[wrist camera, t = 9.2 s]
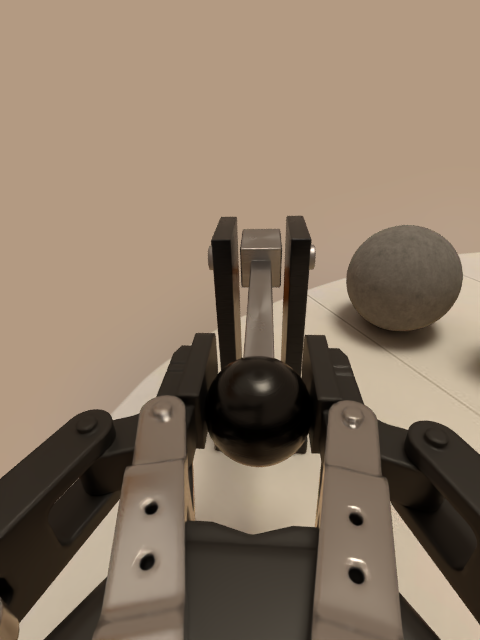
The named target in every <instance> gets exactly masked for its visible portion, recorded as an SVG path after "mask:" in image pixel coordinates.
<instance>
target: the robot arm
mask: <svg viewBox="0 0 480 640" xmlns="http://www.w3.org/2000/svg"><path fill="white" fill-rule="evenodd" d="M217 375H218V362H217V348H216V336H215V333H196V334H195V337H194V340H193V343H192V346H181V347H180V348H179V349H178V350H177V351H176V352H174V354H173V356H172V359H171V361H170V364H169V366H168V369H167V372H166V374H165V376H164V379H163V381H162V384H161V386H160V389H159V391H158V394H157V396H156V398H153V399H151V400H150V401H148V402H147V403H146V404H145V405H144V406H143V407H142V408H141V410H140V413H139V414H137V415H134V416H130V417H126V418H121V419H117V420H112V417H111V415H110V414H109V413H108V412H106V411H104V410H98V409H97V410H88V411H85V412H82V413H80V414H78V415H76V416H75V417H73V418H72V419H70V420H69V421H68V422H67V423H66V424H65V425H63V426H62V427H61V428H60V429H59V430H58V431H56V432H55V433H54V434H53V435H52V436H50V437H49V438H48V439H47V440H46V441H45V442H43V443H42V444H41V445H40V446H39V447H37V448H36V449H35V450H34V451H33V452H31V453H30V454H29V455H28V456H27V457H26V458H24V459H23V460H22V461H21V462H20V463H18V464H17V465H16V466H15V467H14V468H13V469H11V470H10V471H9V472H8V473H7V474H6V475H4V476H3V477H2V478H1V479H0V640H18V637H19V623H20V622H21V620H22V619H23V618H24V617H25V616H26V614H27V613H28V612H29V611H30V609H31V608H32V607H33V606H34V604H35V603H36V602H37V601H38V599H39V598H40V597H41V596H42V595H43V593H44V592H45V591H46V590H47V588H48V587H49V586H50V585H51V583H52V582H53V581H54V580H55V578H56V577H57V576H58V575H59V573H60V572H61V571H62V570H63V569H64V567H65V566H66V565H67V564H68V562H69V561H70V560H71V559H72V557H73V556H74V555H75V554H76V552H77V551H78V550H79V549H80V547H81V546H82V545H83V544H84V543H85V541H86V540H87V539H88V538H89V536H90V535H91V534H92V533H93V531H94V530H95V529H96V528H97V526H98V525H99V524H100V523H101V522H102V520H103V519H104V518H105V517H106V515H107V514H108V513H109V512H110V510H111V509H112V508H113V507H114V505H115V504H116V503H117V502H118V500H119V499H120V502H119V508H118V514H117V520H116V527H115V533H114V539H113V545H112V551H111V557H110V563H109V570H108V576H107V577H106V578H105V579H104V580H103V581H102V582H101V583H100V584H99V585H98V586H97V587H96V588H95V589H94V590H93V591H92V592H91V593H90V594H89V595H88V596H87V597H86V598H85V599H84V600H83V601H82V602H81V603H80V604H79V605H78V606H77V607H76V608H75V609H74V610H73V611H72V612H71V613H70V614H69V615H68V616H67V617H66V618H65V619H64V620H63V621H62V622H61V623H60V624H59V625H58V626H57V627H56V628H55V629H54V630H53V631H52V632H51V633H50V634H49V635H48V636H47V637H46V638H45V639H44V640H441V639H440V638H439V637H438V636H437V635H436V634H435V632H434V631H433V630H432V629H431V628H430V627H429V626H428V624H427V623H426V622H425V621H424V620H423V619H422V618H421V616H420V615H419V614H418V613H417V612H416V611H415V610H414V608H413V607H412V606H411V605H410V604H409V603H408V602H407V600H406V599H405V598H404V597H403V596H402V595H401V594H400V593H399V590H398V579H397V569H396V558H395V548H394V537H393V526H392V516H391V505H390V501H391V503H392V505H393V507H394V508H395V510H396V511H397V512H398V514H399V515H400V516H401V518H402V519H403V521H404V522H405V523H406V525H407V526H408V527H409V529H410V530H411V531H412V533H413V534H414V536H415V537H416V538H417V540H418V541H419V542H420V544H421V545H422V546H423V548H424V549H425V551H426V552H427V553H428V555H429V556H430V557H431V559H432V560H433V561H434V563H435V564H436V566H437V567H438V568H439V570H440V571H441V572H442V574H443V575H444V576H445V578H446V579H447V581H448V582H449V583H450V585H451V586H452V587H453V589H454V590H455V591H456V593H457V594H458V595H459V597H460V598H461V600H462V601H463V602H464V604H465V605H466V606H467V608H468V609H469V610H470V612H471V613H472V615H473V616H474V617H475V619H476V620H477V621H478V623H479V624H480V454H478V453H477V452H476V451H475V450H474V449H473V448H472V447H471V446H470V445H468V444H467V443H466V442H465V441H464V440H463V439H462V438H461V437H460V436H458V435H457V434H456V433H455V432H454V431H453V430H451V429H450V428H448V427H446V426H444V425H442V424H439V423H436V422H432V421H418V422H415V423H413V424H412V425H411V426H410V427H409V430H406V429H402V428H399V427H395V426H391V425H388V424H386V423H383V422H381V421H379V420H377V417H376V415H375V414H374V412H373V411H372V410H371V409H370V408H368V407H367V406H365V405H364V403H363V400H362V397H361V394H360V391H359V388H358V385H357V383H356V380H355V377H354V374H353V371H352V368H351V365H350V362H349V359H348V357H347V356H346V355H345V354H344V353H343V352H342V351H341V350H340V349H337V348H328V344H327V341H326V337H325V335H305V337H304V347H303V359H302V380H303V381H304V383H305V385H306V387H307V389H308V392H309V394H310V398H311V402H312V422H311V426H310V430H309V438H310V445H311V453H319V454H320V456H321V469H320V479H319V489H318V499H317V510H316V520H315V527H300V526H291V527H287V528H282V529H278V530H273V531H269V532H264V533H260V534H254V535H251V534H247V533H244V532H241V531H238V530H235V529H232V528H229V527H226V526H223V525H220V524H217V523H214V522H206V521H195V498H194V470H193V459H194V454H195V450H196V448H198V449H204V448H205V443H206V437H207V432H208V429H207V425H206V421H205V410H204V409H205V400H206V396H207V392H208V390H209V387H210V385H211V383H212V382H213V380H214V379H215V377H216V376H217ZM78 478H79V479H78ZM77 479H78V480H77ZM76 480H77V481H76ZM75 481H76V482H75ZM74 482H75V483H74ZM73 483H74V484H73ZM54 503H55V504H54Z"/></svg>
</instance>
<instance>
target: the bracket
mask: <svg viewBox="0 0 480 640" xmlns="http://www.w3.org/2000/svg"><path fill="white" fill-rule="evenodd" d="M208 265H209V269H210V270H213V271H214V284H215V297H216V310H217V323H218V336H219V349H220V362H221V370H222V369H223V368H225V367H226V366H227V365H229V364H230V363H232V362H234V361H236V360H238V359H241V358H242V348H241V320H240V293H239V266H238V239H237V217H221V218H220V220H219V223H218V225H217V228H216V231H215V233H214V235H213V237H212V240H211V246H209V249H208ZM314 266H315V246H314V245H311V237H310V234H309V232H308V229H307V226H306V223H305V220H304V218H303V216H287V219H286V244H285V272H284V296H283V322H282V347H281V361H282V362H284V363H285V364H287V365H288V366H290V367H291V368H292V369H293V370H294V371H295V372H296V373H297V374H298V375H299V376H300V377H301V367H302V354H303V341H304V329H305V316H306V303H307V291H308V278H309V270H312V269H314ZM215 448H216V450H220V449H219V448H218V447H217V446H216V444H215ZM306 450H307V437H306V439H305V441H304V443H303V444H302V446H301V447H300V448H299V449H298V450H297V451H296V453H306Z"/></svg>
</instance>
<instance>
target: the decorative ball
mask: <svg viewBox="0 0 480 640" xmlns="http://www.w3.org/2000/svg"><path fill="white" fill-rule="evenodd" d="M462 280H463V272H462V265H461V261H460V258H459V256H458V254H457V252H456V250H455V249H454V248H453V246H452V245H451V244H450V243H449V242H448V241H447V240H446V239H445V238H444V237H443V236H441V235H440V234H438V233H436V232H435V231H432V230H430V229H428V228H424V227H420V226H414V225H413V226H412V225H402V226H395V227H391V228H388V229H384V230H382V231H380V232H378V233H376V234H374V235H373V236H371V237H370V238H368V239H367V240H366V241H365V242H364V243H363V244H362V245H361V246H360V247H359V248H358V249H357V251H356V252H355V254H354V255H353V257H352V259H351V262H350V264H349V267H348V270H347V280H346V284H347V291H348V295H349V298H350V300H351V302H352V304H353V306H354V307H355V309H356V310H357V311H358V313H359V314H360V315H361V316H362V317H363V318H365V319H366V320H367V321H369V322H370V323H372V324H374V325H376V326H378V327H380V328H383V329H387V330H392V331H411V330H416V329H420V328H423V327H426V326H428V325H430V324H432V323H434V322H436V321H437V320H439V319H440V318H441V317H443V316H444V315H445V314H446V313H447V312H448V311H449V310H450V309H451V307H452V306H453V304H454V303H455V301H456V300H457V298H458V295H459V293H460V290H461V286H462Z"/></svg>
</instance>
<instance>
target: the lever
mask: <svg viewBox="0 0 480 640" xmlns="http://www.w3.org/2000/svg"><path fill="white" fill-rule="evenodd" d="M240 255H241V283H242V287H249V292H248V305H247V318H246V331H245V344H244V357H243V358H241V359H238V360H236V361H234V362H232V363H230V364H229V365H227V366H226V367H225V368H223V369H222V370H221V371H220V372H219V373H218V375H217V376H216V377H215V379H214V380H213V382H212V383H211V385H210V387H209V390H208V392H207V396H206V400H205V409H204V410H205V421H206V425H207V429H208V432H209V434H210V436H211V438H212V440H213V441H214V443H215V444H216V446H217V447H218V448H219V449H220V450H221V451H222V452H223V453H224V454H225V455H226V456H227V457H229V458H230V459H232V460H234V461H236V462H238V463H240V464H243V465H246V466H251V467H267V466H272V465H275V464H278V463H280V462H283V461H284V460H286V459H288V458H289V457H291V456H292V455H293V454H294V453H295V452H296V451H297V450H298V449H299V448H300V447H301V446H302V444H303V443H304V441H305V439H306V437H307V435H308V433H309V430H310V426H311V422H312V402H311V398H310V394H309V392H308V389H307V387H306V385H305V383H304V381H303V380H302V378H301V377H300V376H299V375H298V374H297V373H296V372H295V371H294V370H293V369H292V368H291V367H290V366H288V365H287V364H285V363H284V362H282V361H280V360H278V359H275V358H274V333H273V302H272V287H280V285H281V259H282V245H281V234H280V229H244V230H243V233H242V240H241V247H240Z"/></svg>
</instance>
